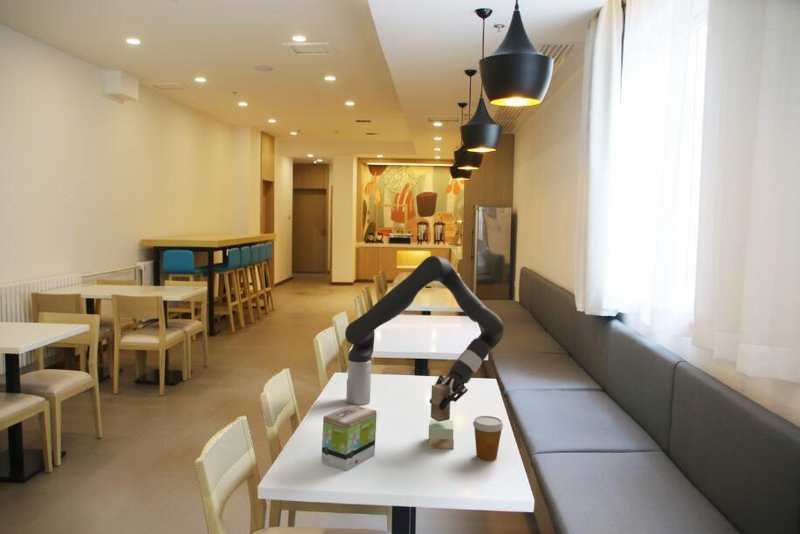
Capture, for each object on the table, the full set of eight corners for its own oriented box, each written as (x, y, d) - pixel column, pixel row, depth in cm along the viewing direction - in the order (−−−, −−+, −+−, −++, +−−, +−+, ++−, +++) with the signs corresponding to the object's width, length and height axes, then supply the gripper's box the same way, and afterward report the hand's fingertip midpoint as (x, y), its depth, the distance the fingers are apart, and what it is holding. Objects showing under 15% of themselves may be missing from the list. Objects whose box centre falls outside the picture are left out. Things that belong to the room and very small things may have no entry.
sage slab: (428, 438, 189) (428, 427, 189) (429, 429, 197) (429, 419, 197) (452, 439, 189) (453, 429, 188) (452, 430, 196) (453, 420, 196)
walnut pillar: (438, 421, 189) (439, 389, 188) (430, 417, 193) (431, 385, 192) (449, 419, 191) (450, 387, 190) (441, 415, 195) (442, 383, 194)
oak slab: (429, 448, 189) (429, 438, 189) (429, 439, 197) (429, 429, 197) (453, 450, 189) (453, 439, 189) (452, 440, 197) (453, 430, 196)
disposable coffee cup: (505, 454, 185) (506, 418, 184) (497, 465, 177) (498, 428, 176) (476, 448, 189) (478, 413, 188) (467, 459, 181) (469, 422, 180)
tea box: (347, 472, 169) (348, 423, 168) (320, 463, 175) (321, 416, 173) (376, 455, 182) (377, 409, 181) (350, 447, 187) (351, 403, 186)
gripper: (447, 354, 200) (417, 393, 195) (473, 364, 188) (442, 405, 183) (459, 367, 204) (429, 406, 198) (485, 378, 192) (455, 419, 186)
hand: (435, 405), depth 191 cm, fingers closed on walnut pillar, 4 cm apart
